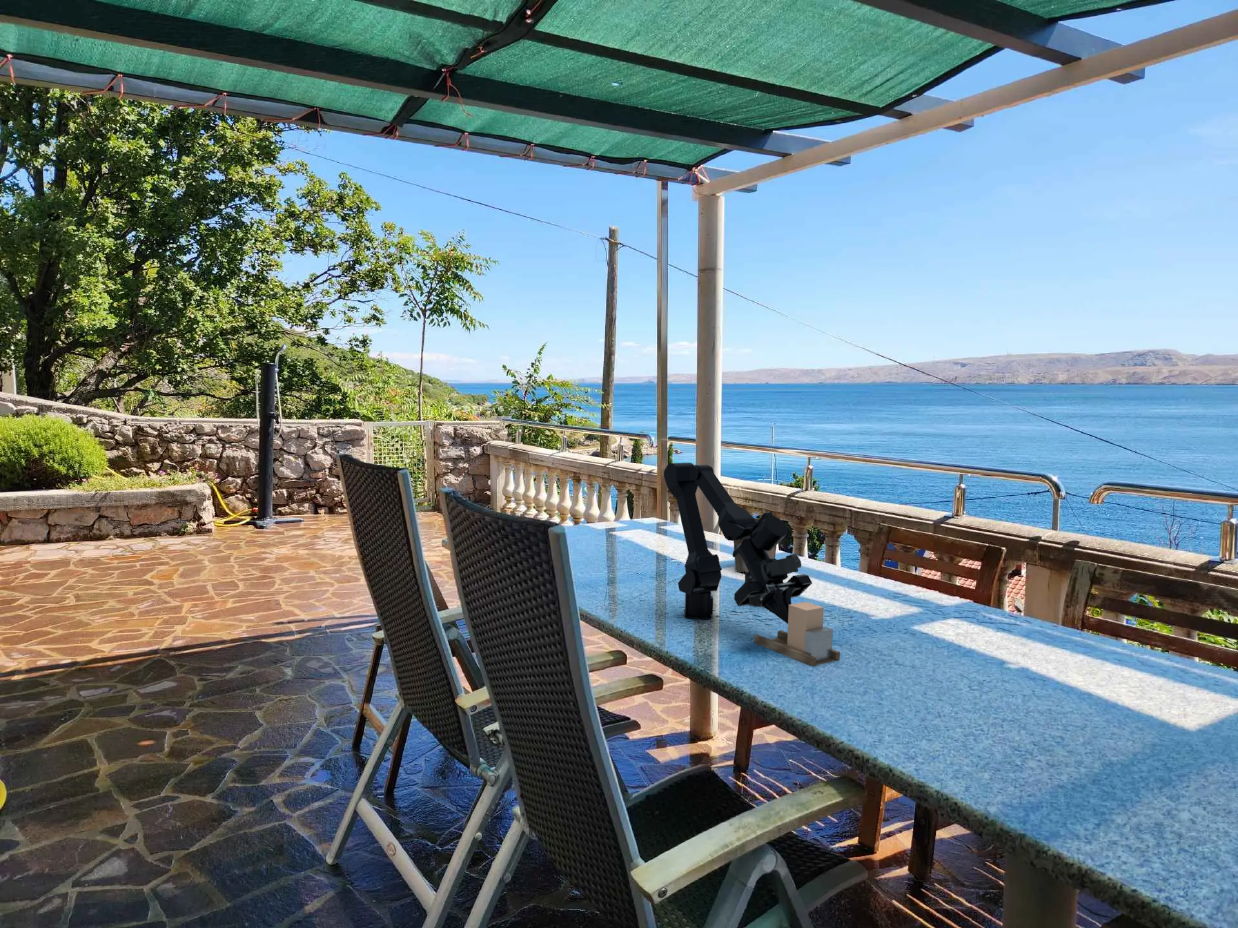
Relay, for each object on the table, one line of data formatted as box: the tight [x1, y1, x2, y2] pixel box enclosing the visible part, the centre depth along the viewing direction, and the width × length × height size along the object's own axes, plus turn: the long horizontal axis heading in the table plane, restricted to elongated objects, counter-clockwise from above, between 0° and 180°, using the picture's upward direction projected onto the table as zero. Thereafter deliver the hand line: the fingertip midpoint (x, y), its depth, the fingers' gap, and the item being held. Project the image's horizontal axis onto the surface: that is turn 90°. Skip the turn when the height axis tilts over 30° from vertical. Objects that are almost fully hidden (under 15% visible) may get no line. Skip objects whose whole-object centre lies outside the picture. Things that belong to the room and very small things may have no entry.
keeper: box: [787, 601, 825, 653], centre depth 158 cm, size 5×5×10 cm
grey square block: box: [804, 626, 834, 662], centre depth 155 cm, size 2×6×7 cm, turn 122°
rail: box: [753, 629, 841, 667], centre depth 160 cm, size 17×8×2 cm, turn 32°
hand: (791, 623), depth 161 cm, fingers closed
